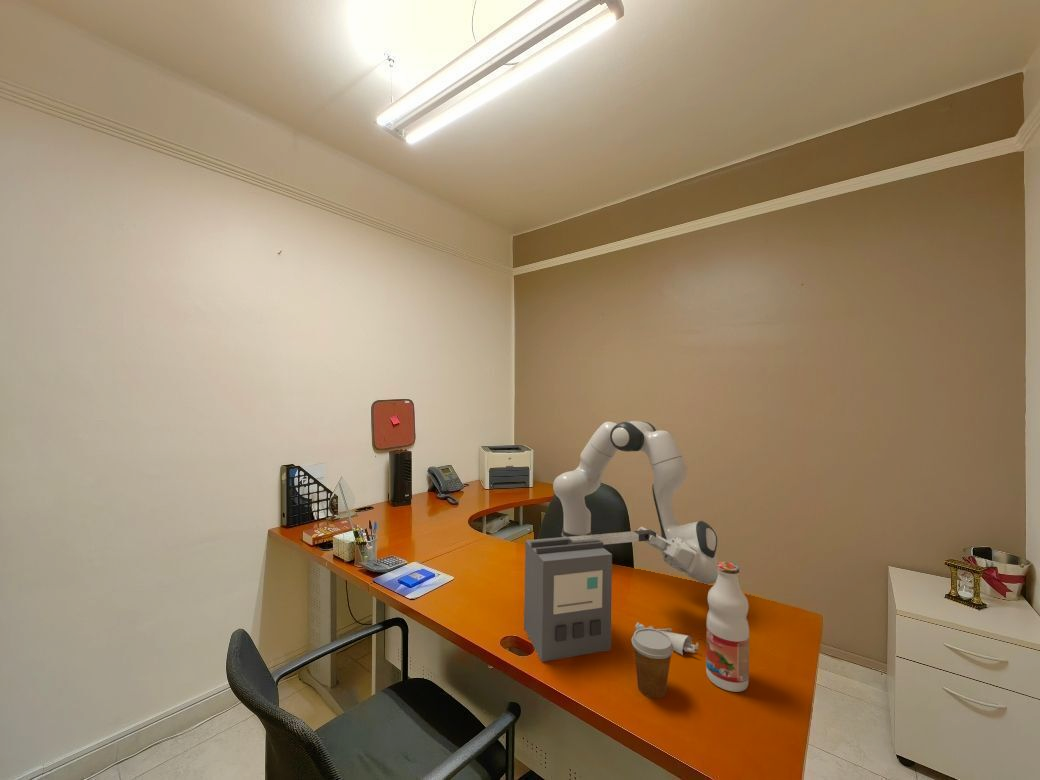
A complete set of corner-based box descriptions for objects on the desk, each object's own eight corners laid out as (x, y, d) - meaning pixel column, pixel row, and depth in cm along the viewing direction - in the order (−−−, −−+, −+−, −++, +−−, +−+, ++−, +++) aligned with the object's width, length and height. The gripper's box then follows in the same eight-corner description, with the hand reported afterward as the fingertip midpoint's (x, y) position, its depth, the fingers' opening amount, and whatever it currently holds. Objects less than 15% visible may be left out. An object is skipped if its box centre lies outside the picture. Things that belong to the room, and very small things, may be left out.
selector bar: (567, 543, 119) (568, 536, 119) (651, 536, 127) (651, 529, 127) (572, 547, 116) (572, 540, 116) (657, 539, 124) (657, 532, 124)
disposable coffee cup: (671, 679, 101) (671, 630, 101) (674, 708, 91) (675, 653, 92) (631, 672, 103) (631, 624, 103) (630, 698, 94) (631, 646, 94)
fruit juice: (757, 693, 96) (758, 573, 97) (717, 693, 96) (718, 573, 97) (735, 667, 106) (736, 558, 106) (699, 666, 106) (700, 557, 106)
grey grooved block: (523, 628, 122) (525, 535, 122) (585, 619, 127) (586, 530, 128) (543, 664, 106) (544, 557, 106) (612, 652, 111) (613, 550, 112)
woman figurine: (687, 649, 106) (625, 626, 118) (688, 667, 105) (625, 642, 118) (704, 631, 114) (644, 611, 127) (705, 648, 114) (645, 626, 126)
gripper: (661, 533, 138) (630, 515, 135) (704, 556, 118) (669, 535, 115) (653, 550, 137) (621, 532, 134) (695, 576, 118) (659, 556, 114)
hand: (643, 534), depth 124 cm, fingers open, 4 cm apart
